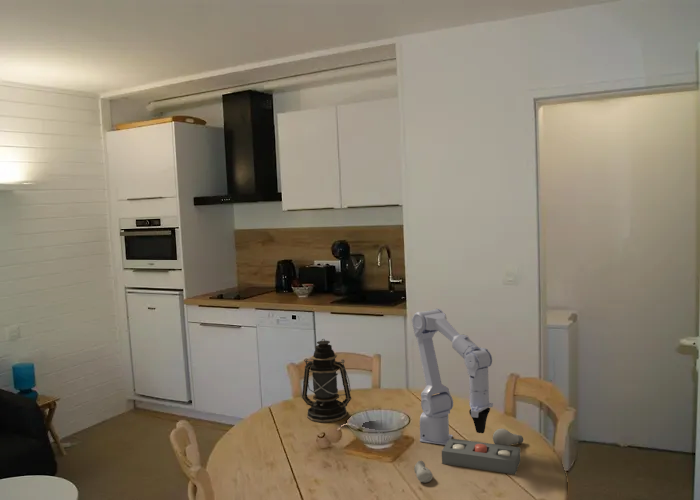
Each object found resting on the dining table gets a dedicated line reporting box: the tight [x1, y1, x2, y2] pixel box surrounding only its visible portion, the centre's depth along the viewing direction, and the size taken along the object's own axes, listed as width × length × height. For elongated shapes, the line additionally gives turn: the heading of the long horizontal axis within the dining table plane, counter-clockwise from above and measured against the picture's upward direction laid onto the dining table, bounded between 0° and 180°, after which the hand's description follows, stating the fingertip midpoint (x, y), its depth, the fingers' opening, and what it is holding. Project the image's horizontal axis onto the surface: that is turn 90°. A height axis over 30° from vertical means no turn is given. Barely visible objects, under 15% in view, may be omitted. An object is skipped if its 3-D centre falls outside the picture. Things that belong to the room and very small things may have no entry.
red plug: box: [475, 444, 487, 453], centre depth 177 cm, size 4×4×4 cm
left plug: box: [453, 444, 464, 450], centre depth 180 cm, size 4×4×4 cm
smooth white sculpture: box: [413, 460, 433, 484], centre depth 168 cm, size 4×8×5 cm
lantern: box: [301, 338, 352, 423], centre depth 222 cm, size 20×16×30 cm
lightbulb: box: [492, 428, 524, 446], centre depth 187 cm, size 6×6×11 cm
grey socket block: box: [441, 438, 522, 475], centre depth 177 cm, size 22×10×4 cm, turn 65°
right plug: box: [498, 450, 510, 456], centre depth 174 cm, size 4×4×4 cm
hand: (480, 432), depth 176 cm, fingers closed
